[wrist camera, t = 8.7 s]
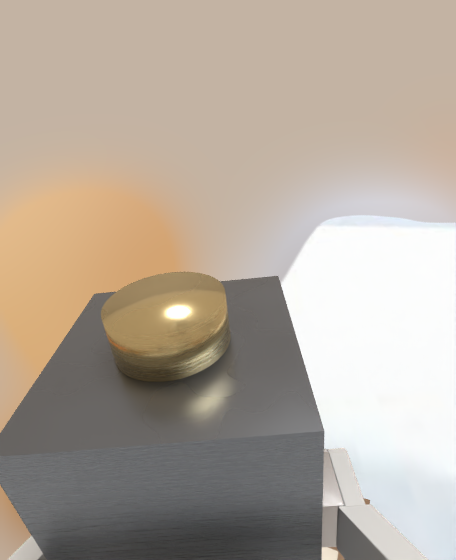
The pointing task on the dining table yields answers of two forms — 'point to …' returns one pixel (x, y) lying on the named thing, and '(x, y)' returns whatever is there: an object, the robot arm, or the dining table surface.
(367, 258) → the dining table surface
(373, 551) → the robot arm
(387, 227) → the dining table surface
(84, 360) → the block
